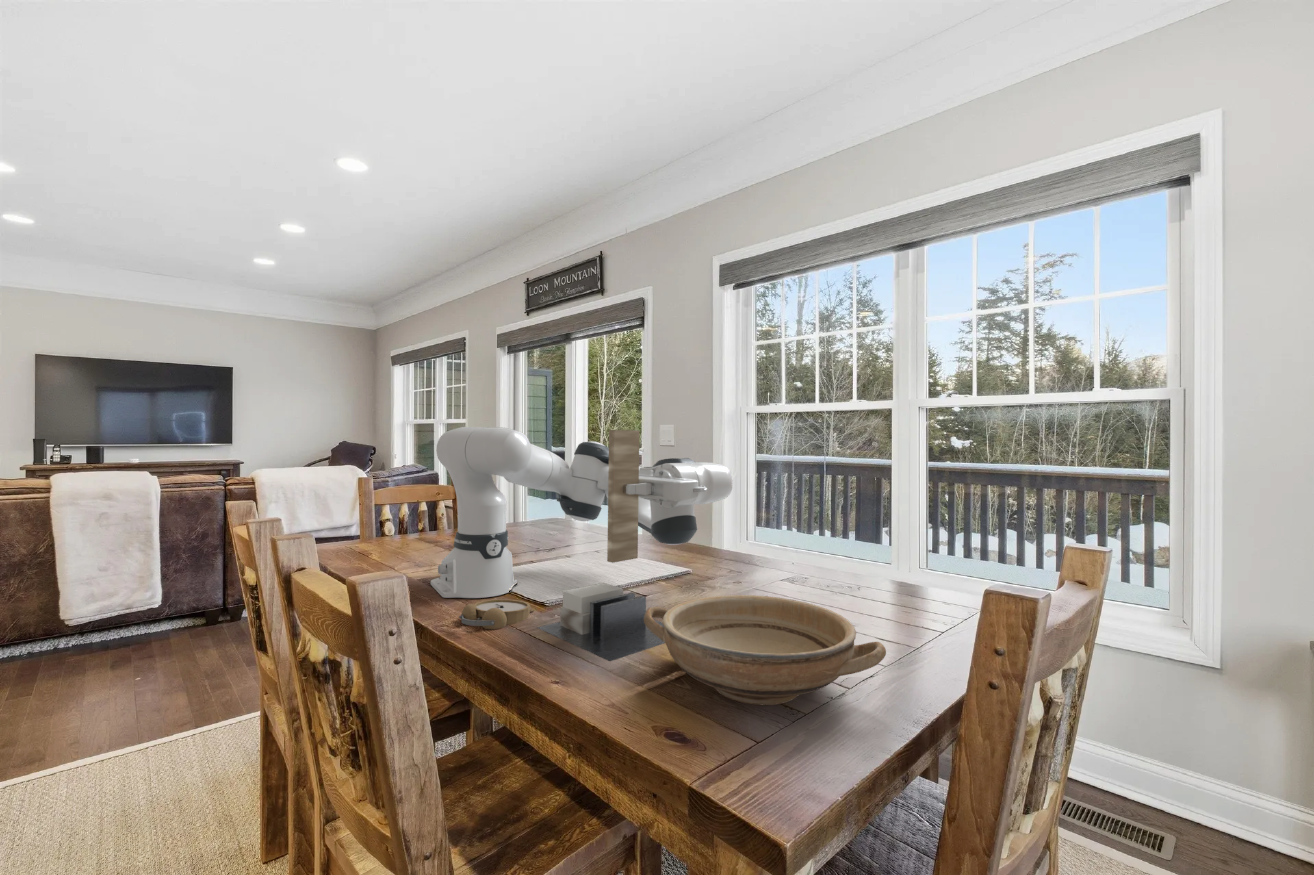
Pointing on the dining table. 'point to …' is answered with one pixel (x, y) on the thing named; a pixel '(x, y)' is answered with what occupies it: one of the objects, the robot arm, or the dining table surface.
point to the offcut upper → (588, 596)
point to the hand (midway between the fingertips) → (619, 488)
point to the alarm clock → (495, 613)
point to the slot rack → (612, 628)
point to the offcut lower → (575, 621)
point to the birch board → (622, 495)
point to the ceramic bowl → (761, 645)
